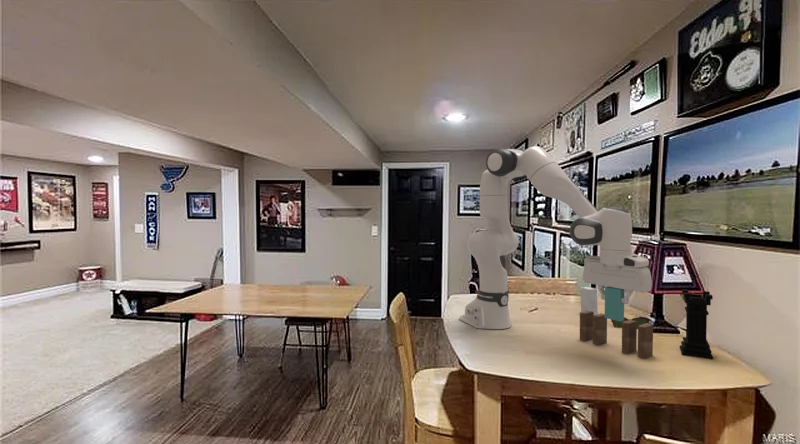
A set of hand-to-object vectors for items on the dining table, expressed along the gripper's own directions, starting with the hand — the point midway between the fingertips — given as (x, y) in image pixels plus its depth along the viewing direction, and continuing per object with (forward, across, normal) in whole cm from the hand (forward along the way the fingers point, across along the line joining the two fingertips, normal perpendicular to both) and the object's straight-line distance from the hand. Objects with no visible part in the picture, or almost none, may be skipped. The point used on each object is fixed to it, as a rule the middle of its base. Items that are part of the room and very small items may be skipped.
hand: (614, 301), depth 126 cm
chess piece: (+18, +13, +25) cm, 34 cm away
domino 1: (+18, -15, +9) cm, 25 cm away
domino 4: (+18, 0, +9) cm, 20 cm away
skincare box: (+18, -33, +40) cm, 55 cm away
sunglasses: (+19, -17, +41) cm, 48 cm away
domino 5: (+18, +5, +9) cm, 21 cm away
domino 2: (+18, -10, +9) cm, 22 cm away
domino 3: (+6, 0, 0) cm, 6 cm away
